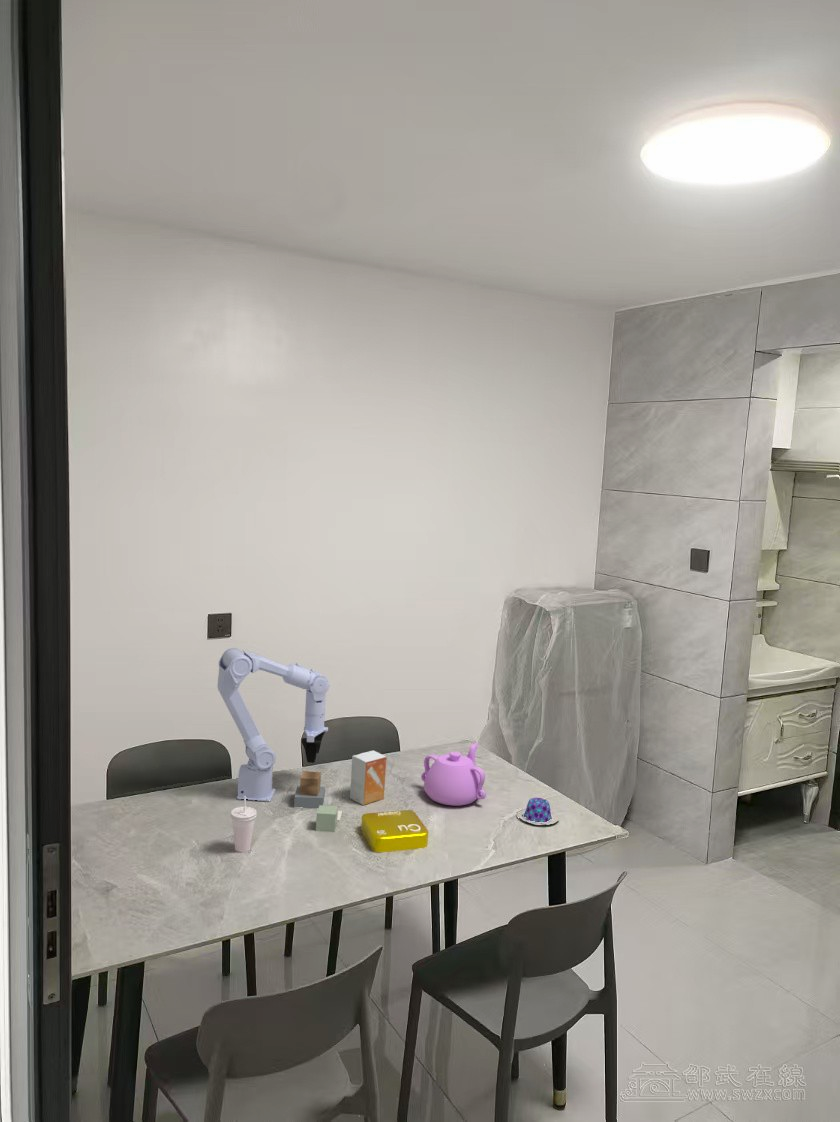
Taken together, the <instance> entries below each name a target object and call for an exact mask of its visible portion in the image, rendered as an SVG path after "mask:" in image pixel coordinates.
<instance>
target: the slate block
mask: <svg viewBox="0 0 840 1122" xmlns="http://www.w3.org/2000/svg"><path fill="white" fill-rule="evenodd" d="M296 786H297V787H296V789H295V794H294V798H293V799H294V800H293V808H294V807H303V808H302V809H317V808H319V805H323V806H324V802H325V798H326V797H325V796H326V786H320V791H319V793H318V796H309V795H300V785H296ZM324 797H325V798H324Z"/></svg>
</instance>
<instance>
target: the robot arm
mask: <svg viewBox="0 0 840 1122" xmlns="http://www.w3.org/2000/svg"><path fill="white" fill-rule="evenodd" d="M258 671H261V672H262V671H263V672H266V673H270V674H273V675H275V676H278V677H282V680H283V682H284V683H286V684H289V685H292V686H294V687H297V688H299V689H302V690H306V691H305V707H304V708H305V710H304V711H305V712H304V727H303V731H304V733H305V735H306V737H302V738H301V744H302V747H303V749H304V752H305V758H306V762H307V763H311V764H315V762H316V759H317V754H319V753H320V749H321V745H322V740H323V737H324V735H325V733H326V732H328V731H329V727H328V726H325V719H326V718H325V715H326V694H327V692H328V691H329V688H330V684H329V680H328V679H327V678H326V676H324V675H323V674H321V673H320V672H318V671H316V670H315V669H313V668H310V669H308V668H305V667H302V664H300V663H297V662H295V664H294V663H289V664H288V665H284V664H282V663H279V662H276V661H274V660H272V659H270V658H267V657H265V656H262V655H259V654H257V653H253V652H250V651H248V650H243V649H242V651H241V650H240V649H239V648H236V647H230V648H227V649H226V650H225V651H224V652H223V653H222V654H221V657H220V658H219V661H218V675H217V676H218V677H217V686H216V687H217V690H218V692H219V693H220V696H221V698H222V700H223V701H224V704H225V706H226V708H227V710H228V711H229V713H230V716H231V717H232V719H233V722H234V723H235V725H236V727H237V729H238V732H239V733H240V735H241V736H242V738H243V743H244V745H245V754H246V756H247V757H248V761H247V763H246V764H244V763H243V764H240V766H239V770H238V777H237V779H238V781H237V797H236V799H237V798H238V799H237V800H241V799H244V796H246V799H248V800H247V801H255V800H257V802H258V801H259V802H271V800H272V798H273V796H274V794H275V792H276V788H273V770H274V768H273V767H274V766H273V765H275V763H276V761H277V755H276V753H275V751H274V750H273V749H271V747H269V745H268V744H267V743H266V741H265V740H264V738H263V736H262V734H261V733H260V731H259V729H258V727H257V724H256V723H255V721H254V718H253V717H252V715H251V713H250V710H249V709H248V707H247V705H246V702H245V701H244V699H243V697H242V695H241V693H240V691H239V688H240V685H241V683H242V682H243V681H244V679H245V678H247V677H248V675H249V674H250V673H251V674H254V673H256V672H258Z"/></svg>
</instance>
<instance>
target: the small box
mask: <svg viewBox="0 0 840 1122" xmlns="http://www.w3.org/2000/svg"><path fill="white" fill-rule="evenodd" d="M386 769H387V756H386V755H384V754H381V752H378V751H376V750H374V749H373V750H369V751H366V752H361V753H359V754H353V755H352V756H351V774H350V788H349V789H350V792H349V798H350V799H351V800H353V801H355V802H356V803H358V804H360V805H362V806H365V805H368V804H370V803H374V802H377V801H381V800H384V799H385V786H386V785H385V784H386V773H387V772H386Z"/></svg>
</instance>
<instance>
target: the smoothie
mask: <svg viewBox="0 0 840 1122" xmlns="http://www.w3.org/2000/svg"><path fill="white" fill-rule="evenodd" d="M257 816H258V814H257V810H256V808H253V807H250V806H247V800H246V796H244V800H243V806H238V807H235V808H233V809H231V812H230V819H231V821H232V831H233V832H232V833H233V840H234V841H233V843H234V850H235V851H236V852H238V853H246V852H249V851H250V849H251V845H252V839H253V833H254V826H255V820H256V817H257Z"/></svg>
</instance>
